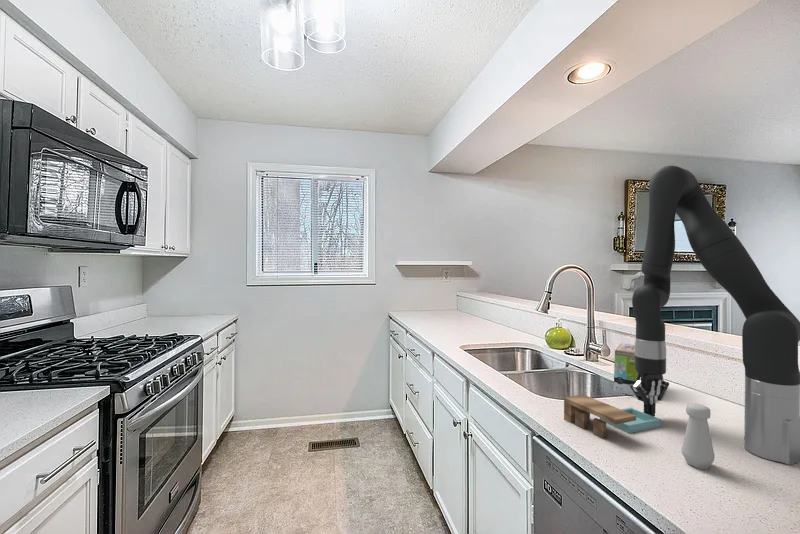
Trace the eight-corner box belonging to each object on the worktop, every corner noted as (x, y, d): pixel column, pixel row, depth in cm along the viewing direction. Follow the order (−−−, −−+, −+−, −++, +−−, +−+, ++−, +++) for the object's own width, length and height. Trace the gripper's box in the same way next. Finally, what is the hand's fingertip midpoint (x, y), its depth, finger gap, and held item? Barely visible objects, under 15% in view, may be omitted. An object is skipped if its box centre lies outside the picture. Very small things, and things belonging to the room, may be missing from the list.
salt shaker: (682, 455, 89) (682, 398, 88) (714, 463, 85) (715, 404, 85) (680, 465, 84) (681, 406, 84) (714, 474, 80) (715, 412, 80)
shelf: (636, 440, 96) (636, 415, 96) (615, 445, 93) (615, 419, 93) (582, 415, 111) (582, 394, 111) (564, 419, 109) (564, 397, 109)
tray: (660, 428, 104) (661, 419, 104) (628, 434, 100) (628, 425, 100) (630, 415, 113) (630, 407, 113) (599, 421, 108) (599, 412, 108)
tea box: (647, 398, 126) (648, 353, 125) (612, 392, 132) (613, 349, 132) (651, 387, 138) (651, 345, 137) (619, 381, 144) (619, 342, 144)
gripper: (645, 360, 103) (645, 424, 103) (679, 356, 108) (679, 417, 108) (621, 354, 110) (620, 414, 110) (653, 350, 115) (653, 408, 115)
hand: (649, 415), depth 109 cm, fingers closed
